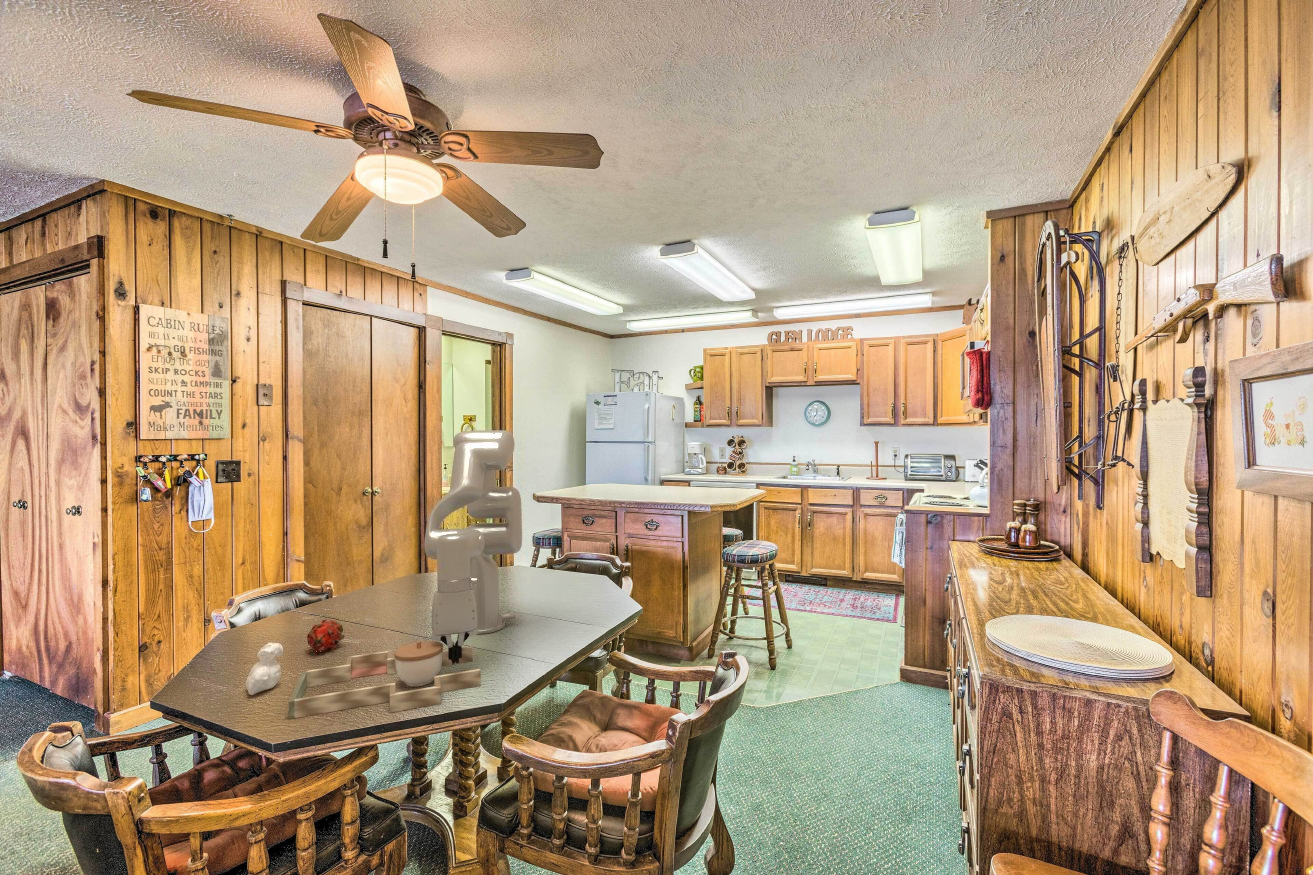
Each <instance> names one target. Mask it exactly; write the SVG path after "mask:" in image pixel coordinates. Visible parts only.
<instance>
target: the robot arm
mask: <svg viewBox="0 0 1313 875" xmlns="http://www.w3.org/2000/svg"><path fill="white" fill-rule="evenodd" d="M453 447H454V451H453V460H452V467H451V469H452V470H451V475H450V484H449V490H448V492H447V493H446V494H445V495H444V496H443V497H442V498H440V499H439V501H437V503H436V504H435V505H434V507H433V508H432V509H431V512H430V513H429V515H428V518H427V520H426V521H427V522H426V528H425V535H424V553H425V555H426V556H427V557H428V558H430V559H431V560H436V569H437V571H436V572H437V573H436V574H437V575H436V576H437V577H436V578H437V579H436V581H437V582H436V584H437V585H436V586H437V588H436V589H437V590H436V591H434V592H433V596H432V605H431V630H432V631H431V635H430V639H431V640H430V641H437V642H441V643H442V644H445V645H446V646H447V648H448V649H447V650H448V659H449V660H451V661H452V664H451V665H455V661H456V663H457V664H460V663H459V658H462V648H463V645H464V643H465V642H466V641H467V640H468V639H469V638H471V637H473V636H475V635H476V636H477V635H482V634H484V635H485V634H489V633H490V634H491V633H494V632H495V633H496V632H497V631H500V630H503V629H504V628H505V626H506V620H514V619H516V612H514V611H513V612H510V611H505V612H503V611H501V609H500V571H499V566H498V564H497V562H496V561H495V560H494V559H493V557H491V556H494V555H513V554H517V553H518V552H520V551H521V549H522V544H523V518H522V515H523V514H522V511H523V510H522V497H521V493H520V491H519V490H518V488H516V487H513V486H497V482H496V480H497V478H496V471H504V470H505V469H506V468H507V467H508V466H509V463H510V461H511V459H512V457H513V454H514V451H515V438H514V435H513V433H512V432H510V431H508V430H503V429H499V430H497V429H496V430H480V429H479V430H478V429H477V430H465V431H461V432H458V433H456V434H455V435H454V437H453ZM464 507H467V514H468V515H469V517H471V518H473V519H480V520H481V519H483V520H485V519H486V520H487V519H490V520H491V519H503V520H505V521H506V522H480V523H479V522H478V523H474V524H470V525H468V526H466V528H446V529H445V528H444V529H442V528H441V527H442V523H443V522H444V521H445V519H446V518H448V516H450V515H451V514H452V513H454V512H455V511H458V510H460V509H462V508H464ZM452 635H457V637H456V641H455V643H454V641H453V638H452Z"/></svg>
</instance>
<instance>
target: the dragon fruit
mask: <svg viewBox="0 0 1313 875" xmlns="http://www.w3.org/2000/svg"><path fill="white" fill-rule="evenodd" d="M343 632H344V627H343V625H342V623H340V622H337V620H336V619H330V620H329V621H327V619H323V620H321V623H320V624H319V623H318V624H314V625H313V626H312V627H311V629H310V631H309V632H308V634H307V635H306V640H307V645H308V646H309V647H310V648H311V649H312V650H314V654H316V655H317V654H319V653H318V652H320V651H323V652H325V651H326V650H328V649H330V648H331V649H333V650H334V649H336V648H337V647H338V645H339V643H340V642H341V641H342V640H344V639H345V637H346V636H345V635H344V634H342V633H343ZM331 649H330V650H331ZM316 651H317V652H316Z"/></svg>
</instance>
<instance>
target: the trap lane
mask: <svg viewBox="0 0 1313 875" xmlns="http://www.w3.org/2000/svg"><path fill="white" fill-rule="evenodd" d="M473 650H474V648H473V646H472V645H470V646H464V647H463V646H462V658H459V663H456V661H455V664H461V663H469V662H474V660H473V656H474V654H473V652H474V651H473ZM455 664H454V665H455ZM451 665H453V664H452V661H451V660H449V659H448V649H443V661H442V666H441V667H443V666H444V667H445V666H451ZM383 674H386V675H393V674H397V671H396V666H395V657H393V650H385V651H377V652H371V653H366V654H365V653H364V654H359V655H351V656H347V660H346V663H345V664H343V665H336V666H329V667H324V668H316V669H308V670H304V671H302V672H301V673H300V676H299V677H298V680H297V683H296V685H295V687H294V690H293V692H292V694H291V695H290V698H289V701H288V720H290V719H291V720H292V719H297V718H301V717H303V718H304V717H308V716H314V715H315V716H316V715H320V714H327V713H331V712H336V711H343V710H348V709H354V708H359V707H366V706H372V705H377V704H378V705H379V704H383V703H389V714H390V713H396V712H402V711H405V710H406V711H407V710H412V709H417V708H422V707H428V706H434V705H440V704H442V693H446V692H452V691H458V690H462V689H463V690H464V689H467V688H468V689H469V688H473V687H474V688H475V687H479V686H481V685H482V682H481V681H482V680H481V676H482V675H481V674H482V673H481V668H477V669H469V670H465V671H458V672H453V673H452V672H451V673H447V674H438V675H437V676H434V680H433V683H434V684H433V686H429V687H423V688H418V689H410V690H406V691H399V692H396V682H391V683H386V684H380V685H379V684H378V685H373V686H366V687H362V688H355V689H349V690H342V691H337V692H330V693H325V694H319V695H313V696H307V697H305V696H304V695H305V693H306V690H307V688H310V687H317V686H323V685H330V684H335V683H336V682H337V683H341V682H342V683H343V682H348V681H351V680H353V679H358V678H364V677H363V676H366V677H370V676H369V675H372V676H376V675H378V676H379V675H383Z"/></svg>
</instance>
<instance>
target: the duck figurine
mask: <svg viewBox="0 0 1313 875" xmlns="http://www.w3.org/2000/svg"><path fill="white" fill-rule="evenodd" d="M283 654H284V647H283V645H282V644H281V643H279V642H270V641H269V642H268V643H267V644H265V645H264V646H262V647H261V648H260V649H259V652H257V655H256V656H257V658H258V659H259V661H257V662H256V663H255V664H254V665H253V666H252V668H251V669H250V672H249V674H248V676H247V678H246V681H245V687H246V689H247V693H248V694H249V695H250V696H254V695H256V694H258V693H261V692H264V691H267V690H269V689H272V688H274V687H275V686H276V684H278V682H279V681H280V678H281V675H282V670H281V665H280V664H279V663H278V662H277V660H276V658H277V657H281V656H282V655H283Z"/></svg>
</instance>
